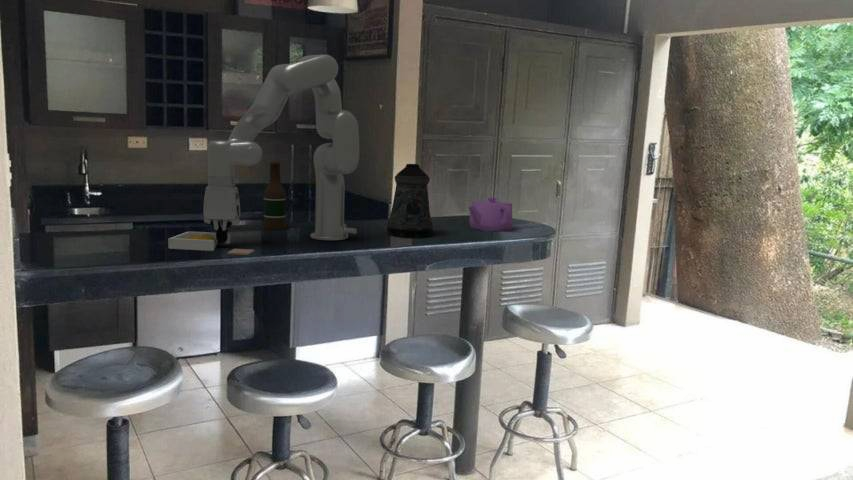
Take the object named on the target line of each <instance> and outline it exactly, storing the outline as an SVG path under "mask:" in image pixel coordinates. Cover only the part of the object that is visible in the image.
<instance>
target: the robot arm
mask: <svg viewBox="0 0 853 480" xmlns="http://www.w3.org/2000/svg"><path fill="white" fill-rule="evenodd" d="M338 73H339V65H338V62H337V60H336V58H334V57H332V56H331V55H330V54H313V55H305V56H302V57H301V58H300V59H298V60H297V62H293V63H281V64H277V65H275V66H273V67H271V69H270V71H269V72H268V74H267V76H266V77H265V79H264V82H263V84H262V85H261V88H260V89H259V92H258V93H257V95H256V98H255V100H254V101H253V103H252V105H251V106H250V107H249V109H248V110H246V112H245V113H244V115H242V117H241V118H240V119H239V121H238V122H237V123H236V125H235V126H234V128H233V129H232V131H231V133H230V134H229V137H228V139H227V140H211V141H209V142H208V144H207V186H206V187H205V191H204V197H203V198H204V199H203V208H202V209H203V210H202V211H203V222H204V223H206V224H209V225H211V227H212V228H214V230H215V233H216V240H217V244H226V243H225V242H226V241H227V239H228V234H229V233H228V231H229V229H231V227H232V226H234V225H239V224H240V217H241V204H240V195H239V189H238V187H237V186H236V184H239V183H240V180H239V178H236V177H235V165H239V166H247V167H248V166H255V165H256V164H258V163H260V161H261V160H262V158H263V150H262V149H263V148H262V147H261V146H260V145H259V144H258V143H257V142H254V141H255V139H256V137H257V136H258V135H259V133H261V131H263V130H264V129H265V128H267V127H268V126H270V125H272V124H273V123H275V121H277V120H278V119H279V117H280V115H281V113H282V111H283V109H284V107H285V105H286V103H287V101H288V99H289V97H290V95H291V93H298V92H303V91H307V90H311V91H312V92H313V95H314V103H315V106H314V107H315V127H316V132H317V134H318V135H319V136H320V137H321V138H323V139H326V140H332V143H331V142H327V143H323V144H320V145H319V146H318V147H316V149H315V151H314V154H313V167H314V173H315V222H314V225H315V227H314V228H315V229H314V230H315V232H312V233H310V238H311V239H312V240H319V241H342V240H343V241H344V240H347V239H349V234H350V235H356V234H357V230H358V229H357V228H354V227H348V226H347V224H346V223H345V192H346V191H345V189H346V187H345V178H344V175H349V174H352V173H354V172H355V170H356V169H357V168H358V166H359V163H360V133H359V131H360V130H359V129H360V128H359V123H358V120H357V118H356V117H355V115H354V114H353V113H352V112H350V111H348V110H347V109H346V110H345V109H343V106H342V94H341V89H340V87H339V84H338V82H337V81H336V77H337V75H338Z"/></svg>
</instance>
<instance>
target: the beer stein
mask: <svg viewBox="0 0 853 480" xmlns="http://www.w3.org/2000/svg"><path fill="white" fill-rule="evenodd" d="M430 179H431V178H430V177H429V176H428V174H427V173H426V172H425V171H423V169H422V168H421V167H420V164H418V163H406V165H405V167H404V168H402V169H401V170H400V171H398V172H397V174H396V175H395V176H394V181H395V190H394V194H393V200H392V206H391V211H390V215H389V218H388V221H387V222H386V230H387V234H388V236H390V237H393V238H402V239H424V238H430V237H432V232H433V229H434V225H433V222H432V219H431V213H430V211H431V210H430V201H429V189H428V185H429V183H430Z"/></svg>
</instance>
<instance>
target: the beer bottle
mask: <svg viewBox="0 0 853 480" xmlns="http://www.w3.org/2000/svg"><path fill="white" fill-rule="evenodd" d="M269 165H270V167H269V169H270V170H269V178H268V179H269V180H268V185H267V186H266V188H265V189H264V192H263V228H264V229H265V230H266V231H267V230H268V231H282V229H283V230H285V229H286V227H287V225H286V224H287V221H286V220H287V201H286V200H287V195H286V191H285V188H284V187H283V185H282V181H281V168H280V167H281V162H280V161H276V160H275V161H273V160H272V161H270V162H269Z"/></svg>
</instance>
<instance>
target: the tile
mask: <svg viewBox="0 0 853 480" xmlns="http://www.w3.org/2000/svg"><path fill="white" fill-rule="evenodd" d="M254 252H255V249H249V248H248V249H247V248H233V249H231V250H229V251H228V252H226V254H227V255H239V256H240V255H241V256H244V255H245V256H249V255H251V254H252V253H254Z"/></svg>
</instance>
